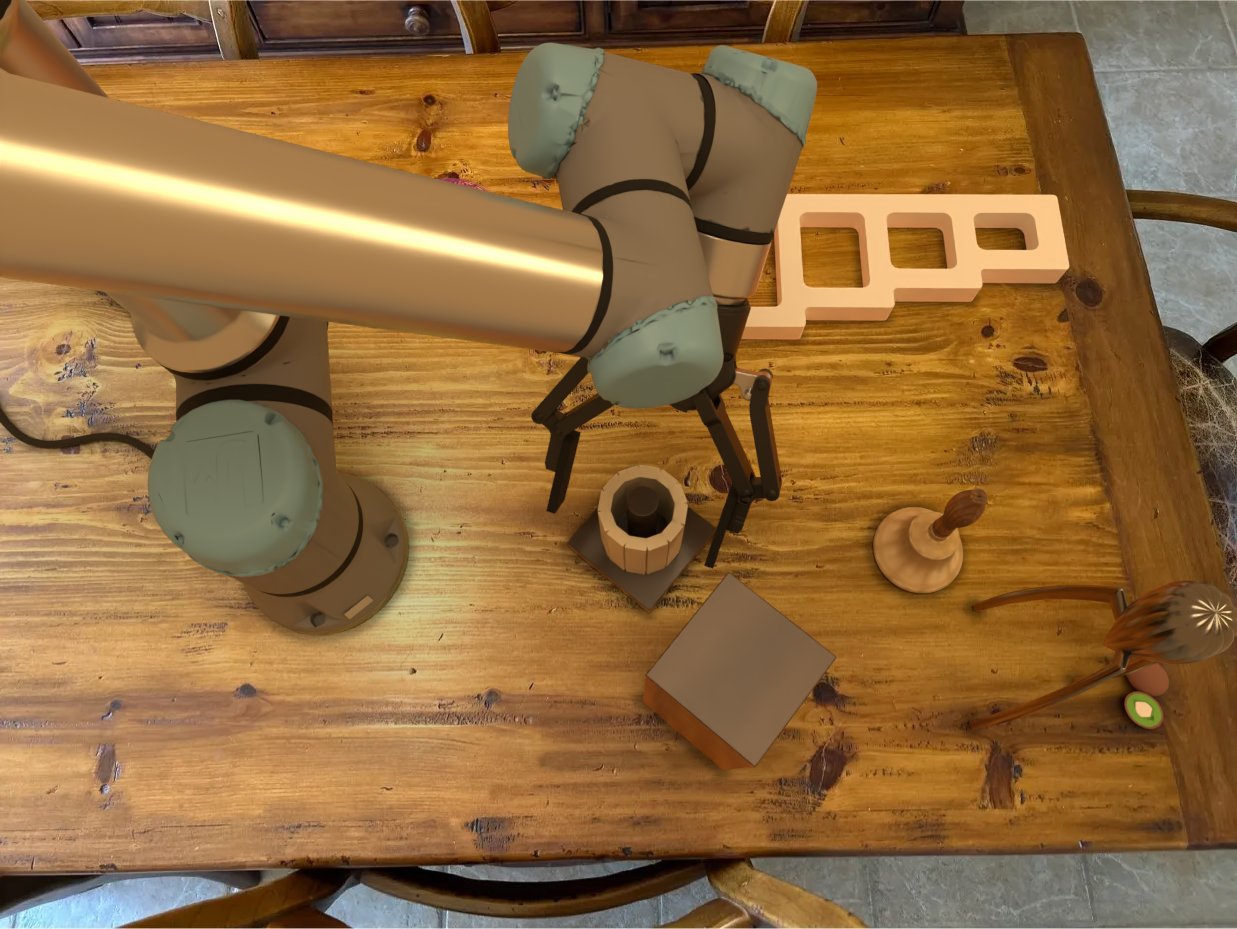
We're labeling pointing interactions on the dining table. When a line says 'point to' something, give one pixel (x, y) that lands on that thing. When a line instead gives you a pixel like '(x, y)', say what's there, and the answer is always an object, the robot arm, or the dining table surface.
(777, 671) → the stand block
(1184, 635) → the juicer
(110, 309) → the dining table surface
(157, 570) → the dining table surface
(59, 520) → the dining table surface
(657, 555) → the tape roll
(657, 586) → the tape peg
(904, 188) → the dining table surface
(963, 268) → the holder
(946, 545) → the hand bell
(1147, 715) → the kiwi fruit
